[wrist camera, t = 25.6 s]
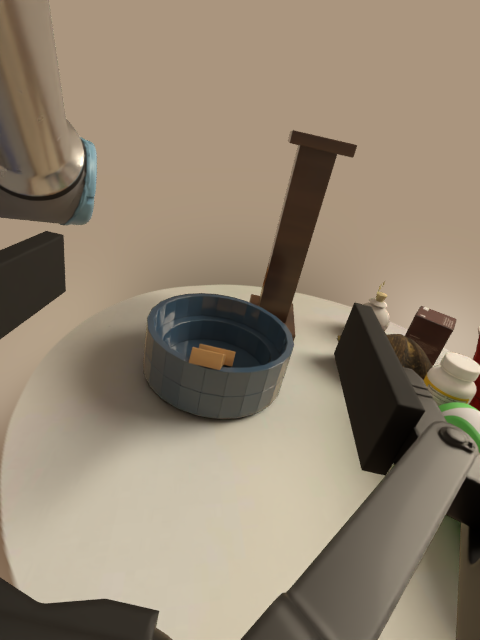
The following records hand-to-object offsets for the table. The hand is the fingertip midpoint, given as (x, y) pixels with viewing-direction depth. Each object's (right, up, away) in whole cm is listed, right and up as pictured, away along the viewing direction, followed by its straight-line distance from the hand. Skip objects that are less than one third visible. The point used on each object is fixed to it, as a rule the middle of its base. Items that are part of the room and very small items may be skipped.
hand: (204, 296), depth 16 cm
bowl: (-2, -8, +30) cm, 31 cm away
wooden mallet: (-1, -6, +21) cm, 21 cm away
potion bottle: (+25, -3, +50) cm, 56 cm away
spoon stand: (+7, -1, +46) cm, 46 cm away
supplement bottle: (+26, -15, +30) cm, 42 cm away
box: (+33, -7, +47) cm, 58 cm away
